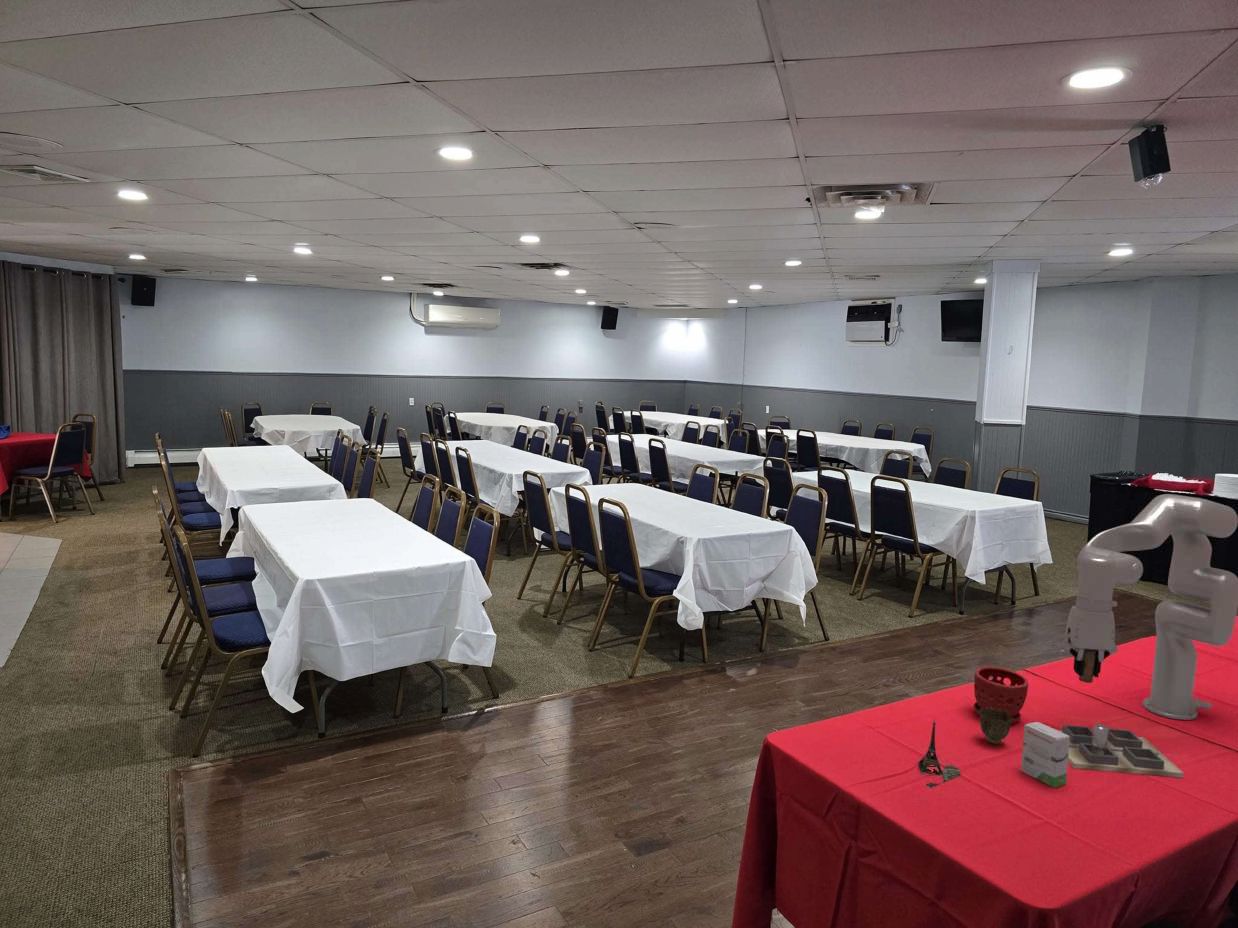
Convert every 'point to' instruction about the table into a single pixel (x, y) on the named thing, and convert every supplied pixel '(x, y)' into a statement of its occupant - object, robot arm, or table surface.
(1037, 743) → the ink box
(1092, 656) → the walnut pin
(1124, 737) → the board
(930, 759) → the eiffel tower figurine
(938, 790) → the table surface
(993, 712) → the cup
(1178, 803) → the table surface
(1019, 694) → the plant pot
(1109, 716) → the table surface
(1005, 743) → the table surface
